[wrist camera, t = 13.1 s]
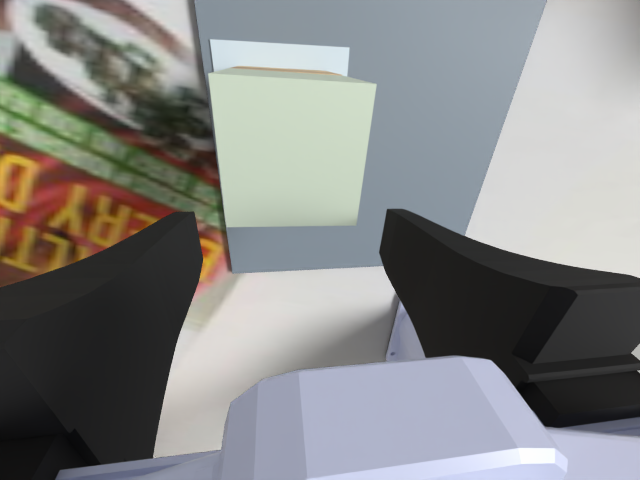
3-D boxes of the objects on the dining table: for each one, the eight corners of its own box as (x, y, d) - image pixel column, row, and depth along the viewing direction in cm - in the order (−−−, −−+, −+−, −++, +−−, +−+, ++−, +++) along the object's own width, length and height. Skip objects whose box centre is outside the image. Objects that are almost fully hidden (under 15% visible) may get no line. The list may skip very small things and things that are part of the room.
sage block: (333, 181, 14) (356, 225, 11) (238, 180, 14) (226, 227, 10) (343, 75, 12) (376, 83, 8) (229, 67, 11) (208, 73, 8)
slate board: (452, 259, 25) (455, 262, 24) (233, 270, 22) (232, 274, 22) (548, -21, 15) (556, -23, 15) (187, -58, 13) (185, -62, 12)
